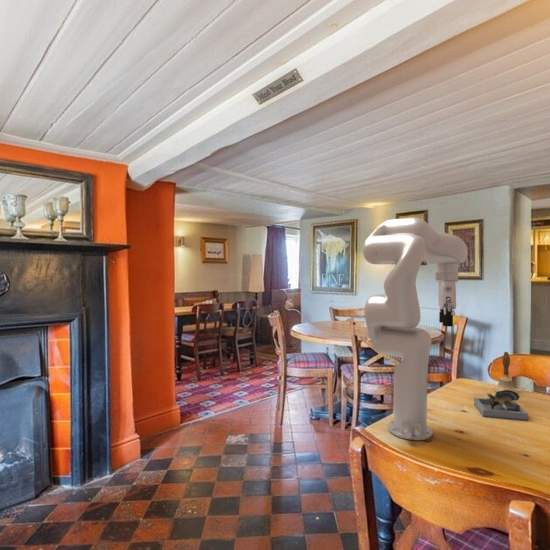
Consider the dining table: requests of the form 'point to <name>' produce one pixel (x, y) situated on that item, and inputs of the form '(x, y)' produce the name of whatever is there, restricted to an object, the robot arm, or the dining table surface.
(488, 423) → the dining table surface
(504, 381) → the hand bell
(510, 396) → the eagle figurine
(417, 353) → the robot arm
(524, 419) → the holder
